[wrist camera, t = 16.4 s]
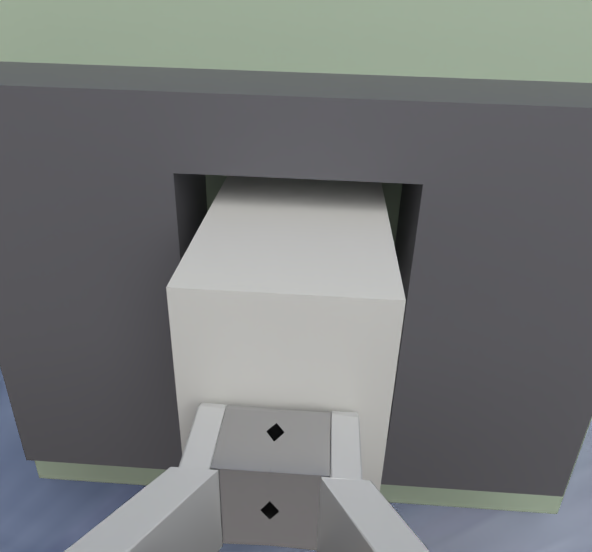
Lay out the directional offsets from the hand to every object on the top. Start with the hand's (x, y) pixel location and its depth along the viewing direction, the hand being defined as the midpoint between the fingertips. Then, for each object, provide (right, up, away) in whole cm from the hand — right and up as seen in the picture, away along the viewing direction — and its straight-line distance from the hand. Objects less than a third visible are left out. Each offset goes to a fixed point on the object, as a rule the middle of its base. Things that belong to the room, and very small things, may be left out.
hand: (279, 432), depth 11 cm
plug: (+1, +3, +6) cm, 7 cm away
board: (+1, +4, +7) cm, 8 cm away
